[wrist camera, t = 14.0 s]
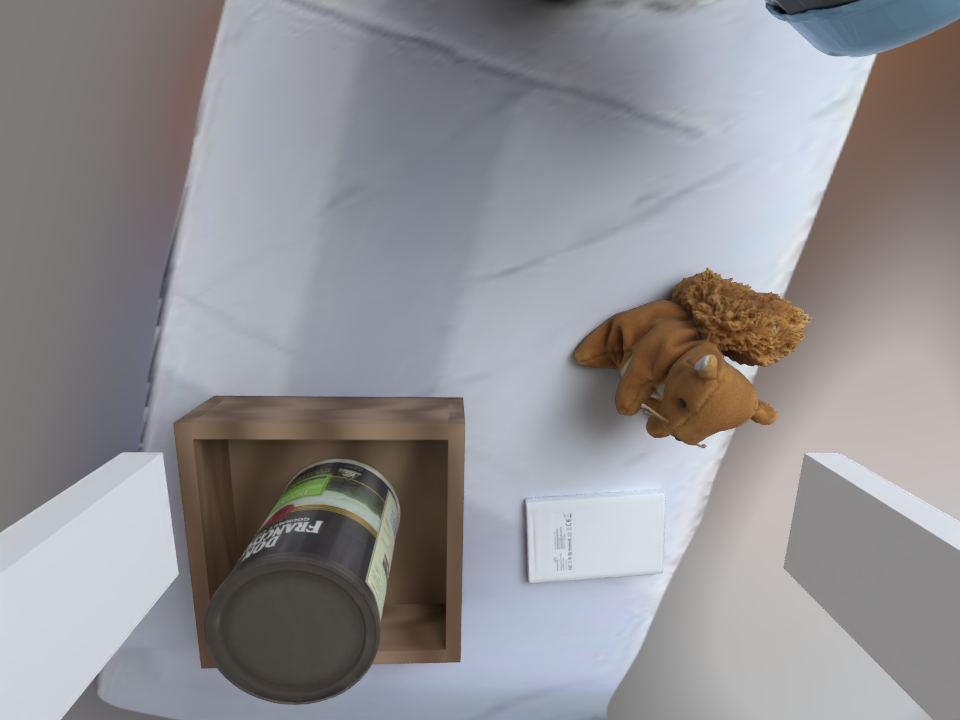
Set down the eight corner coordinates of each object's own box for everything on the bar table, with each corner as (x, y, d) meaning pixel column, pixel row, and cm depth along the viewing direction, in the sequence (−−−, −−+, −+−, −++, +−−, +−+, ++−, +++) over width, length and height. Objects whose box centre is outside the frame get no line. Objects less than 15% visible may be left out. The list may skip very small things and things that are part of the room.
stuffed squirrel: (563, 357, 44) (610, 406, 31) (687, 233, 42) (792, 230, 29) (641, 433, 46) (716, 508, 33) (763, 317, 44) (892, 349, 31)
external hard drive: (656, 564, 49) (526, 574, 49) (658, 485, 47) (524, 495, 47) (663, 575, 48) (529, 586, 47) (666, 493, 46) (526, 503, 45)
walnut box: (462, 397, 44) (465, 424, 37) (459, 606, 48) (460, 662, 42) (214, 395, 43) (173, 423, 36) (234, 610, 47) (201, 668, 41)
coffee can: (255, 492, 44) (166, 608, 30) (362, 436, 43) (321, 528, 29) (320, 585, 46) (265, 732, 32) (422, 533, 45) (411, 661, 32)
